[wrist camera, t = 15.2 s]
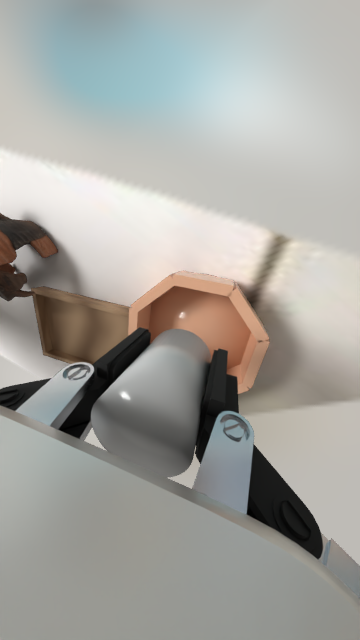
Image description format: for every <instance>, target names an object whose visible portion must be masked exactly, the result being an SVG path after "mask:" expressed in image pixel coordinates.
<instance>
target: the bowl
mask: <svg viewBox="0 0 360 640" xmlns="http://www.w3.org/2000/svg"><path fill="white" fill-rule="evenodd" d="M139 327H141V328H145V329H148V330H149V332H151V340H150V344H151V342H152V341H153V340H154V339H155V338H156V337H157V336H158V335H159V334H161V333H162V332H164V331H166V330H170V329H183V330H187V331H190V332H192V333H194V334H196V335H197V336H198V337H200V338H201V339H202V340H203V341H204V342H205V344H206V345H207V347H208V349H209V351H210V354H211V360H212V356H213V353H214V350H217V351H218V348H219V349H223V350H227V351H228V357H227V374H229V375H233V376H236V377H237V381H238V394H240V393H243V392H246V391H249V388H252V386H253V383H254V381H255V378H256V376H257V373H258V371H259V368H260V366H261V363H262V361H263V358H264V356H265V353H266V351H267V348H268V346H269V343H270V342H269V337H268V334H267V332H266V330H265V328H264V326H263V324H262V322H261V321H260V319H259V317H258V316H257V314H256V313H255V311H254V309H253V308H252V306H251V304H250V302H249V301H248V300H247V298H246V297H245V295H244V294H243V292H242V290H241V289H240V287H239V286H238V284H237V282H236V283H234V282H233V280H230V279H225V278H219V277H216V276H212V275H209V274H198V273H193V272H187V271H181V272H177V273H174V274H171V275H169V276H168V277H166V278H165V279H164V280H163V281H161V282H160V283H159V284H157V285H156V286H155V287H154V288H152V289H151V290H150V291H148V292H147V293H146V294H144V295H143V296H142V297H141V298H139V299H138V300H137V301H135V302H134V303H133V304H132V305H131V307H130V308H129V326H128V336H129V335H130V334H131V333H133V332H134V331H135V330H136V329H138V328H139Z"/></svg>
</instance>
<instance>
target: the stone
mask: <svg viewBox="0 0 360 640" xmlns="http://www.w3.org/2000/svg"><path fill="white" fill-rule="evenodd" d="M210 364H211V354H210V351H209V349H208V347H207V345H206V344H205V342H204V341H203V340H202V339H201V338H200V337H198V336H197V335H196V334H194V333H192V332H190V331H187V330H183V329H170V330H166V331H164V332H162V333H161V334H159V335H158V336H157V337H156V338H155V339H154V340H153V341H152V342H151V344H150V345H149V346H148V347H147V348H146V349H145V350H144V351H143V352H142V353H141V354H140V355H139V356H138V357H137V358H136V359H135V360H134V361H133V363H132V364H131V365H130V366H129V367H128V368H127V369H126V370H125V371H124V372H123V373H122V374H121V375H120V376H119V377H118V378H117V379H116V380H115V382H114V383H113V384H112V385H111V386H110V387H109V388H108V389H107V390H106V391H105V392H104V393H103V394H102V395H101V396H100V397H99V398H98V399H97V401H96V402H95V403H94V405H93V407H92V411H91V423H92V427H93V430H94V432H95V434H96V436H97V438H98V440H99V441H100V443H101V444H102V445H103V447H104V448H105V449H106V450H107V451H108V452H110V453H112V454H114V455H117V456H119V457H121V458H123V459H126V460H128V461H130V462H132V463H135V464H137V465H139V466H141V467H144V468H146V469H148V470H150V471H152V472H155V473H157V474H159V475H161V476H164V477H166V478H167V477H173V476H177V475H179V474H181V473H183V472H185V470H187V469H188V468H189V466H190V465H191V463H192V460H193V456H194V450H195V445H196V440H197V435H198V430H199V425H200V414H201V409H202V404H203V399H204V394H205V389H206V384H207V379H208V374H209V369H210Z"/></svg>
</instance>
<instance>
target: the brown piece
mask: <svg viewBox="0 0 360 640" xmlns="http://www.w3.org/2000/svg"><path fill="white" fill-rule="evenodd" d="M26 244H30V245H31V246H32V247H34V248H35V250H36V251H37V252H38V253H39V254H40V255H41V257H43V258H46V257H49V256H50V255H52V254H55V253H57V252H58V250H57V249H56V247H55V245H54V244H53V242H52V241H51V240H50V239H49V237H48V236H47V235H46V234H45V233H44V232H43V231H42V230H41V228H40V227H39V226H37V225H36V224H35V223H34V222H31V221H22V220H12V219H10V218H8V217H6V216H4V215H2V214H1V213H0V297H2V298H3V299H5V300H7V301H10V300H12V299H13V298H14V297H28V296H31V295H34V294H35V292H34V291H22V290H20V289H21V288H22V287H23V285H24V284H25V283H26V282H27V278H26V275H25V274H24V273H19V274H14V272H15V270H16V269H15V268H14V267H12V266H11V265H10V264H9V263H12V262H13V261H14V260H15V259H16V257H17V255H16V251H15V250H17V249H19V248H20V247H22V246H24V245H26Z"/></svg>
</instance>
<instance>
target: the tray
mask: <svg viewBox="0 0 360 640" xmlns="http://www.w3.org/2000/svg"><path fill="white" fill-rule="evenodd" d="M31 290H32V291H34V292H35V294H34V295H32V296H33V301H34V307H35V312H36V318H37V323H38V328H39V334H40V339H41V345H42V350H43V355H46V356H49V357H52V358H55V359H58V360H61V361H64V362H67V363H70V364H73V363H78V362H86V363H89V364H91V365H92V364H93V363H95V362H96V361H97V360H98V359H99V358H101V357H102V356H103V355H105V354H106V353H107V352H108V351H110V350H111V349H112V348H113V347H115V346H116V345H117V344H119V343H120V342H121V341H122V340H124V339H125V338H126V337H128V326H129V308H130V307H127V306H123V305H118V304H114V303H110V302H106V301H102V300H98V299H94V298H90V297H85V296H81V295H77V294H73V293H69V292H65V291H61V290H56V289H52V288H48V287H44V286H43V287H37V288H31Z"/></svg>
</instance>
